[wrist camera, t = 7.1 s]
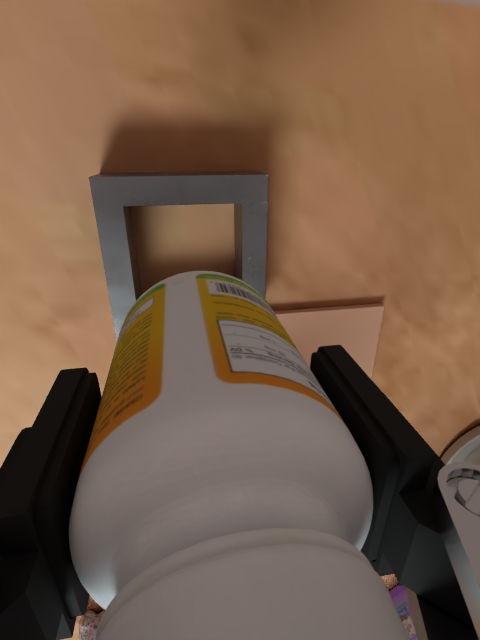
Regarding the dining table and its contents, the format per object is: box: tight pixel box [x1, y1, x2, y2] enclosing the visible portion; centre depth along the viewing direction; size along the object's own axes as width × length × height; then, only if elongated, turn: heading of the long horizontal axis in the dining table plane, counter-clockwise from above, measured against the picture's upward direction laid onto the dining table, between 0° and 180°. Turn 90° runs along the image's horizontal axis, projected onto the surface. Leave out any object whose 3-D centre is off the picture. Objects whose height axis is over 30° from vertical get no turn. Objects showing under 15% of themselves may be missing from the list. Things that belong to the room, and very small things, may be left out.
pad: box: [274, 303, 385, 379], centre depth 30 cm, size 10×10×1 cm
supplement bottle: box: [69, 271, 410, 640], centre depth 8 cm, size 5×5×10 cm
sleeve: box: [89, 172, 269, 340], centre depth 23 cm, size 10×10×3 cm
